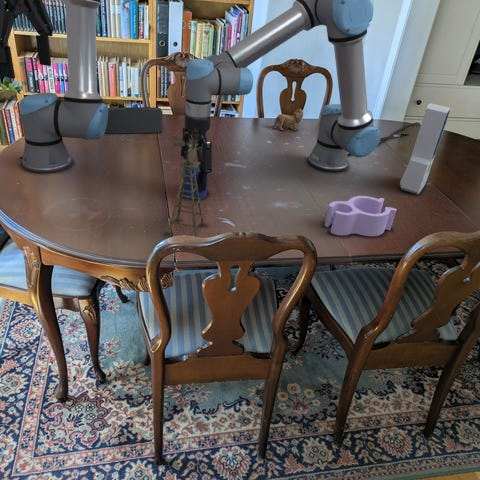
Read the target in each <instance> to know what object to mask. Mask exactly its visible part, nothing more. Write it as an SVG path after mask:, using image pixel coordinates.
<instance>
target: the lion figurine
mask: <svg viewBox="0 0 480 480" xmlns="http://www.w3.org/2000/svg"><path fill="white" fill-rule="evenodd" d="M304 115H305V114H304V110H303V109H301V108H297V109H295V111H294V112H293V113H292V114H289V115H287V114H285V113H281V114H278V115H277V116H276V118H275V120H274V123H273V125H272V127H271V129H277V124H279V125H278V127H279V130H280V131H284V128H283V127H282V126H283V124H284V123H285V124H290V126H289V128H290V129H292V130H293V131H297V129H296V126H297V124H299V123H300V122H301V121H302V119H303V117H304Z"/></svg>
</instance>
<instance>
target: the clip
mask: <svg viewBox="0 0 480 480" xmlns="http://www.w3.org/2000/svg"><path fill="white" fill-rule="evenodd" d="M384 201H385V198H383V197H379V198H376V197H373V196H368V195H357V196H352V197H350V198H349V200H347V201H339V200H338V201H337V200H335V201H332V202H330V203H329V205H328V208H327V214H326V218H325V222H324V227H326V228H329V227H330V226H331V227H330V233H331V234H333V235H336V236H348V235H353V234H356V235H360V236H364V237H365V236H366V237H378V236H381V235H382V234H384V232H385V230H387V231H391V229H392V226H393V222H394V219H395V216H396V213H397V210H398V209H397V208H395V207H391V206H385V207H384V211H383V212H382V209H383V206H384Z"/></svg>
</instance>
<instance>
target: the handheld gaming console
mask: <svg viewBox="0 0 480 480" xmlns="http://www.w3.org/2000/svg"><path fill="white" fill-rule="evenodd" d="M163 113H164V111H163V110H162V109H161V107H150V106H138V107H136V106H135V107H134V106H131V107H130V106H129V107H128V106H126V107H125V106H124V107H123V106H122V107H121V106H120V107H119V106H117V107H108V121H107V126H106V130H105V133H107V134H149V133H151V134H152V133H162V131H163V130H164V129H163V118H164V117H163Z"/></svg>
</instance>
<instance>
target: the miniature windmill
mask: <svg viewBox="0 0 480 480" xmlns="http://www.w3.org/2000/svg"><path fill="white" fill-rule="evenodd" d="M195 130H196V129H195ZM196 131H197V130H196ZM198 135H199V134H198ZM195 136H197V135H196V134H195ZM197 137H198V136H197ZM191 138H192V135H191ZM194 138H195V137H194ZM195 139H196V142H195V140H194V142H195V143H197V141H198V140H197V138H195ZM198 139H199V138H198ZM192 142H193V140H190V142H187V144H185V142H184V141H183V140H182V139H180V138H177V137H172V147H183V146H185V145H187V146H188V147H189V150H188V155H187V159H183V160H182V162H181V163H179V164H178V166H179V167H182V168H184V171H183V170H182V172H181V179H180V180H179V182H180V183H179V187H178V188H177V195H176V197H175V203H174V205H173V210H172V212H171V219H170V220H169V227H168V231H167V234H168V235H170V234H171V231H172V227H173V225H180V226H184V227H191V228H193V237H194V236H196V237H197V238H198V236H197V227H198V225H199V224H200V222H201V226H205V221H204V215H205V213H203V210H202V205H201V199H200V198H199V193H198V185H197V182H196V176H195V173H196V171H195V170H194V168H197V167H198V166H199V165H200V163H201V162H198V160H195V159H196V156H197V147H196V146H198V144H199V143H198V144H195V143H194V142H193V143H192ZM193 144H195V145H193ZM193 146H194V149H193ZM190 147H191V148H190ZM191 165H192V166H191ZM189 168H190V170H187V169H189ZM191 168H192V170H193V171H192V170H191ZM187 171H188V172H190V175H186V173H187ZM192 172H193V174H192ZM193 176H194V182H195V184H193V183H192V177H193ZM186 177H190V181H191V183H186V182H185V179H186ZM183 179H184V180H183ZM185 184H188V185H191V191H188V190H184V185H185ZM193 185H194V186H195V189H194V190H193ZM195 190H196V194H197V198H195V197H194V196H193V193H194V191H195ZM183 191H184V192H189V193H191V196H192V197H190V196H184V195H183ZM183 198H187V199H190V198H192V199H191V206H189V205H188V206H187V205H183V204H182V203H183V202H182V201H183ZM195 200H197V202H196V203H195ZM197 206H198V211H199V212H196V211H195V210H196V208H197ZM177 208H178V209H177ZM181 208H186V209H190V210H192V211H190V210H185V209H181ZM181 212H184V213H189V214H192V224H187V223H181V222H179V221H180V214H181ZM196 215H199V218H198V221H197V222H196ZM175 216H176V221H177V222H176V221H174V220H175Z"/></svg>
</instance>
